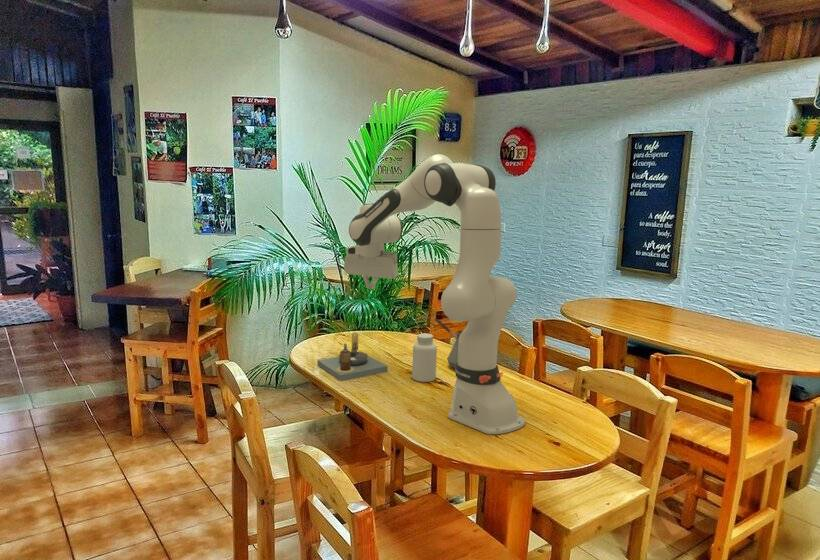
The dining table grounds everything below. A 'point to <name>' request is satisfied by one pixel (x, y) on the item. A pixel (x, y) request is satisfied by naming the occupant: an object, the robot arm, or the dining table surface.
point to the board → (352, 368)
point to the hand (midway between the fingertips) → (370, 288)
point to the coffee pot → (454, 352)
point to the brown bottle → (345, 359)
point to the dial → (356, 353)
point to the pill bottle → (424, 358)
